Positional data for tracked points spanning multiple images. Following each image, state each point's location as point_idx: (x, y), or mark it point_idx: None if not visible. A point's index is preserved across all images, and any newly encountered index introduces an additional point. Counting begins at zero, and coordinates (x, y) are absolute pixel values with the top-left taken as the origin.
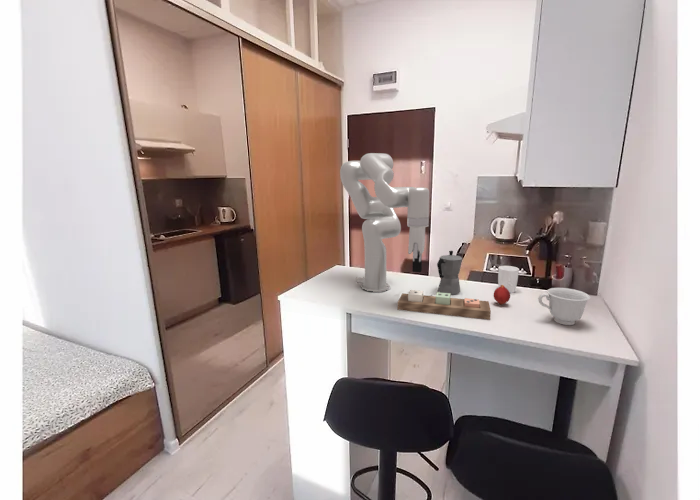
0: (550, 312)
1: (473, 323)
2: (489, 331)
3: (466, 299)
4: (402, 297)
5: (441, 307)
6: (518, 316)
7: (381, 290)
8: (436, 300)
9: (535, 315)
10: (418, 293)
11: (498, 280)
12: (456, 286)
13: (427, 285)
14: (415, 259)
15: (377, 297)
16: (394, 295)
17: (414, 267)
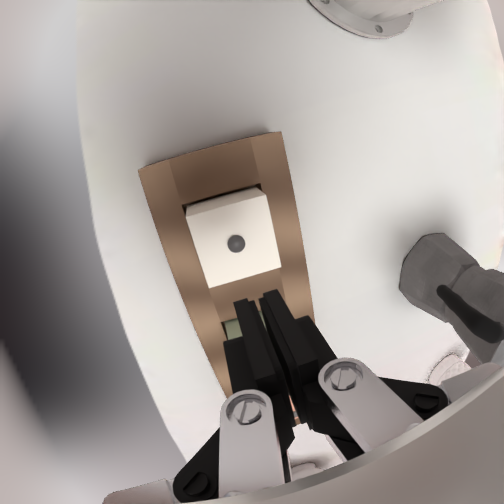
0: (302, 474)
1: (195, 406)
2: (174, 431)
3: (290, 398)
4: (216, 160)
5: (205, 348)
6: (295, 439)
7: (325, 12)
8: (228, 335)
9: (313, 448)
10: (228, 261)
11: (461, 369)
12: (426, 310)
13: (460, 179)
14: (203, 460)
15: (248, 17)
16: (315, 77)
17: (226, 354)
